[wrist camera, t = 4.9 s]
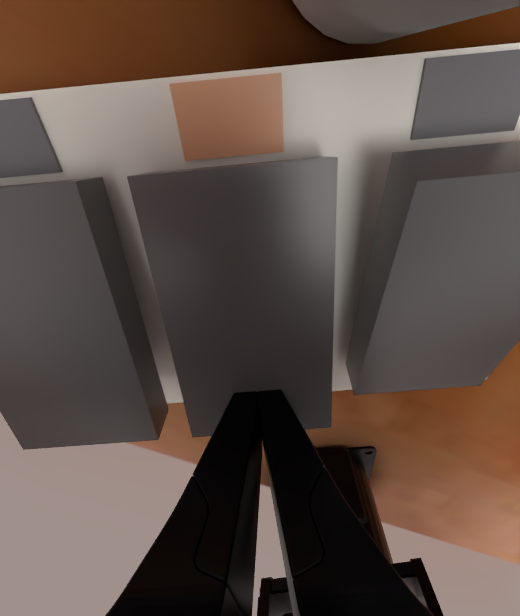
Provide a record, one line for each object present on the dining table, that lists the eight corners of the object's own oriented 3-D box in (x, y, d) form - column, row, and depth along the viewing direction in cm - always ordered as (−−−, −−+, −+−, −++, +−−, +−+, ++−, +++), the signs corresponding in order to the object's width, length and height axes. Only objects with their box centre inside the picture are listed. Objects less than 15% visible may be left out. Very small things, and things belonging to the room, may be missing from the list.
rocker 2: (322, 397, 10) (330, 427, 9) (199, 407, 10) (192, 437, 9) (325, 156, 7) (338, 156, 6) (146, 172, 7) (126, 176, 6)
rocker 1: (168, 409, 10) (158, 439, 9) (47, 418, 10) (23, 449, 9) (102, 176, 7) (74, 181, 6) (-71, 192, 7) (-128, 199, 6)
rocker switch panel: (446, 328, 14) (489, 383, 12) (79, 357, 15) (43, 416, 12) (548, 42, 8) (683, 26, 6) (-73, 102, 9) (-206, 113, 6)
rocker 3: (461, 354, 11) (479, 385, 10) (345, 363, 11) (354, 394, 10) (613, 131, 6) (676, 157, 5) (392, 151, 6) (417, 181, 5)
